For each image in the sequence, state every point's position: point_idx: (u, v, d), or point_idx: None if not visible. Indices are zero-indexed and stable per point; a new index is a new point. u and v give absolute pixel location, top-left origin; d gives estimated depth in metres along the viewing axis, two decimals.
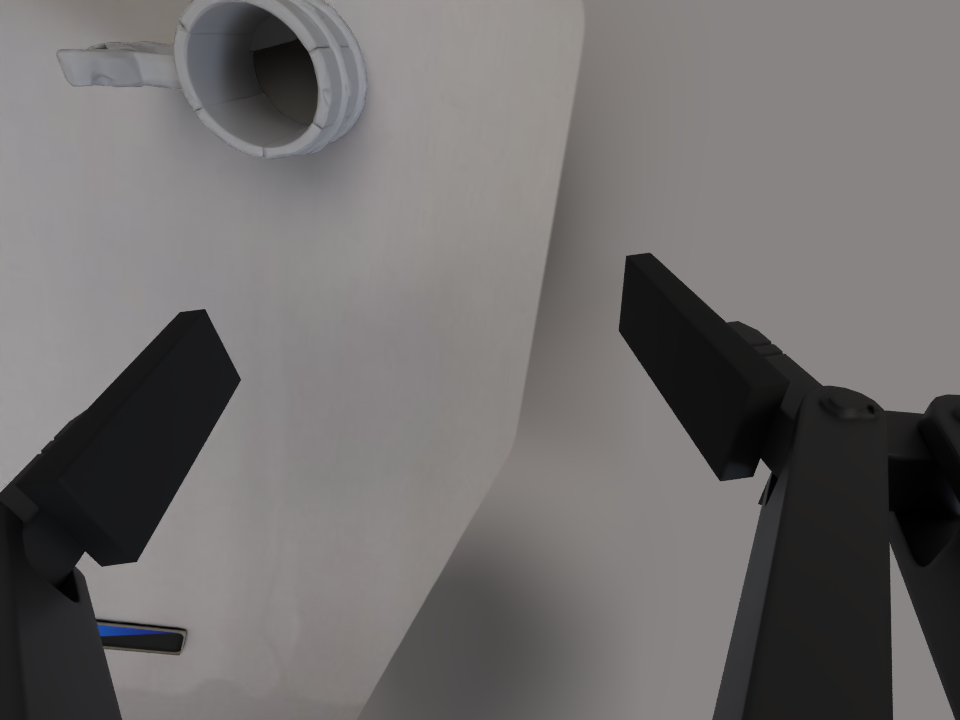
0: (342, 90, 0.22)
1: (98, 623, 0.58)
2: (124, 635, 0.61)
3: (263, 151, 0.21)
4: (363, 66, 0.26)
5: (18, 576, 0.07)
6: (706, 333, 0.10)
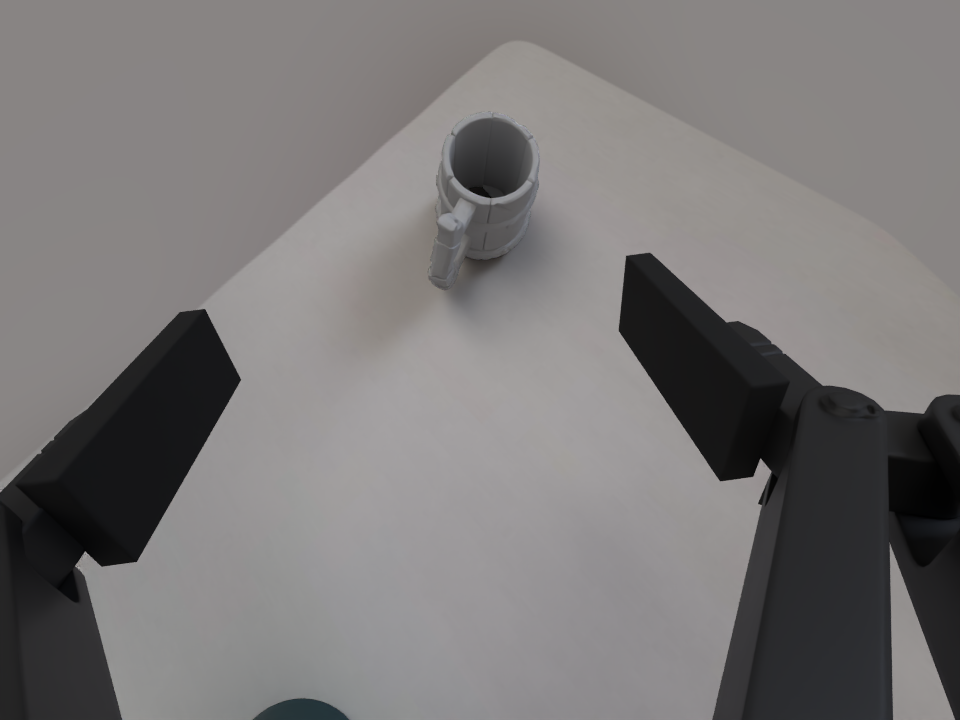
0: None
1: None
2: None
3: (529, 180, 0.28)
4: None
5: (18, 576, 0.07)
6: (706, 333, 0.10)
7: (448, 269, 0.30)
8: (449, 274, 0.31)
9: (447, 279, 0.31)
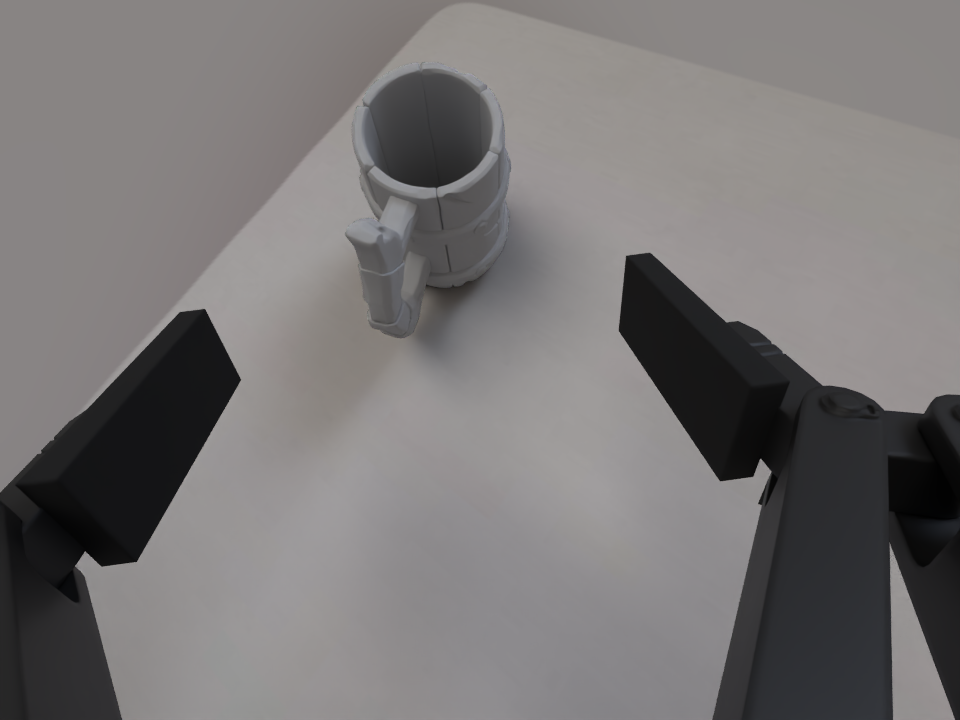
0: None
1: None
2: None
3: (492, 150, 0.18)
4: None
5: (18, 576, 0.07)
6: (706, 333, 0.10)
7: (393, 308, 0.20)
8: (399, 315, 0.21)
9: (397, 323, 0.21)
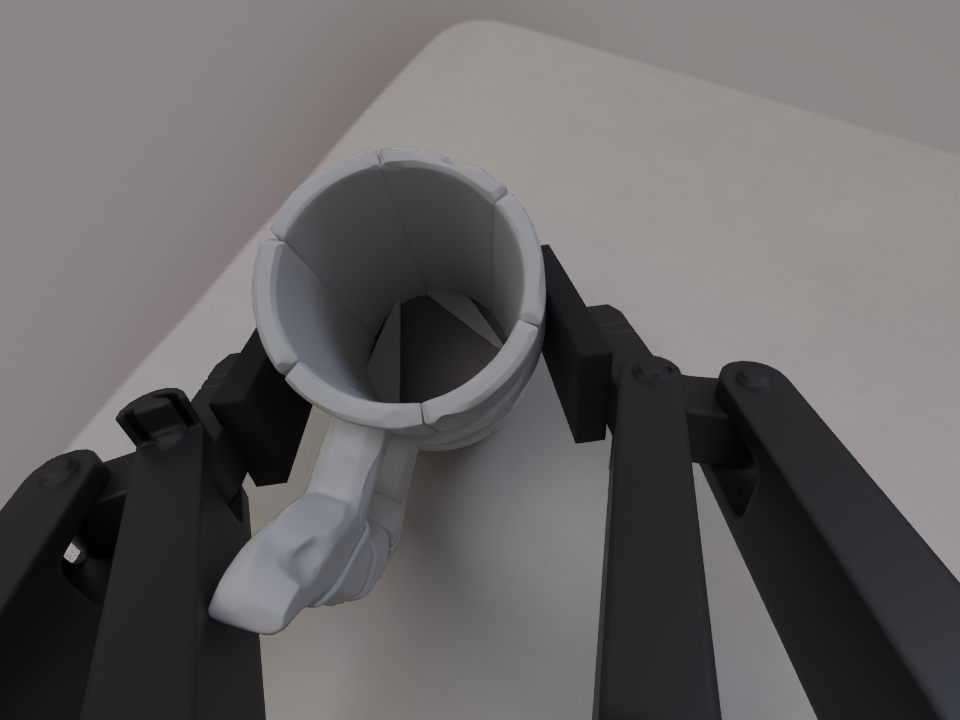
0: None
1: None
2: None
3: (527, 319, 0.09)
4: None
5: (205, 492, 0.08)
6: (563, 313, 0.11)
7: (355, 592, 0.11)
8: (369, 577, 0.12)
9: (366, 591, 0.12)
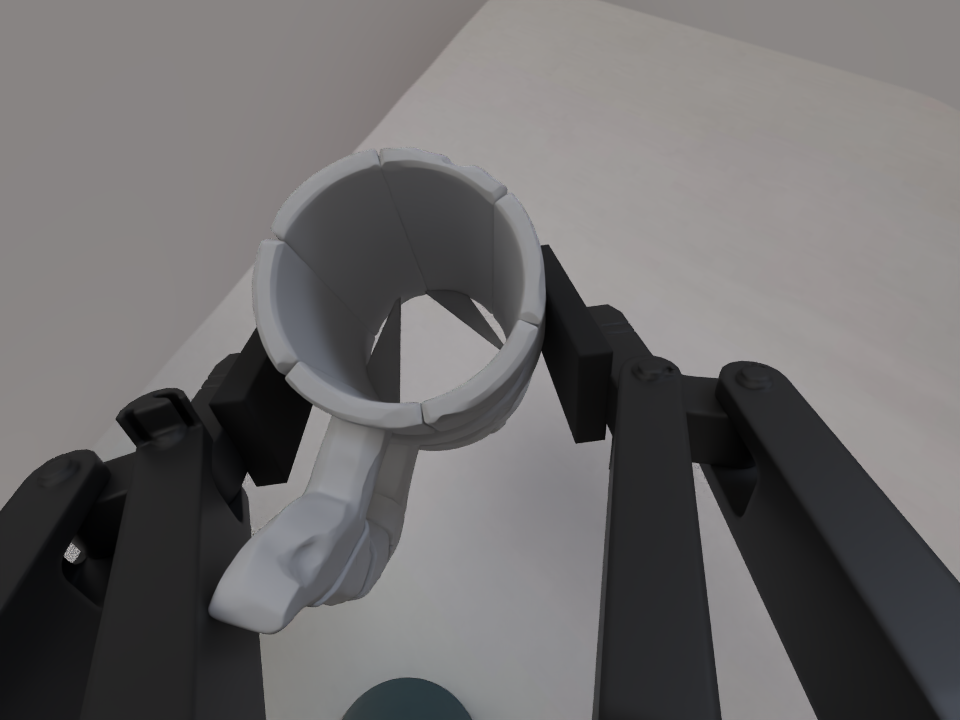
0: None
1: None
2: None
3: (526, 318, 0.09)
4: None
5: (205, 492, 0.08)
6: (563, 313, 0.11)
7: (355, 592, 0.11)
8: (369, 577, 0.12)
9: (367, 590, 0.12)
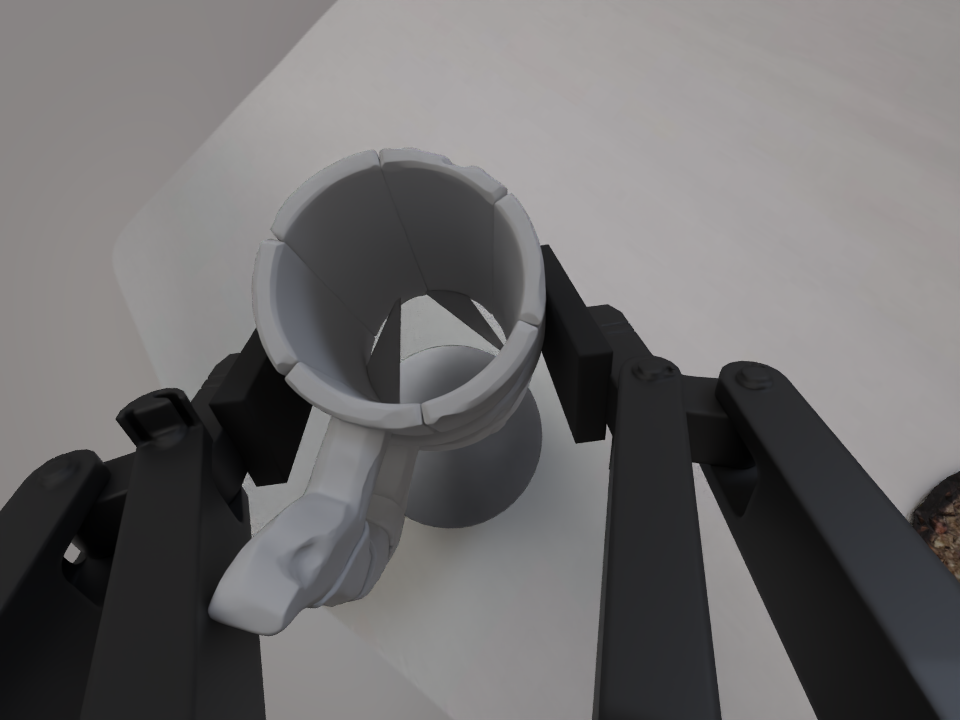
0: None
1: None
2: None
3: (526, 319, 0.09)
4: None
5: (205, 492, 0.08)
6: (563, 313, 0.11)
7: (354, 593, 0.11)
8: (369, 577, 0.12)
9: (366, 591, 0.12)
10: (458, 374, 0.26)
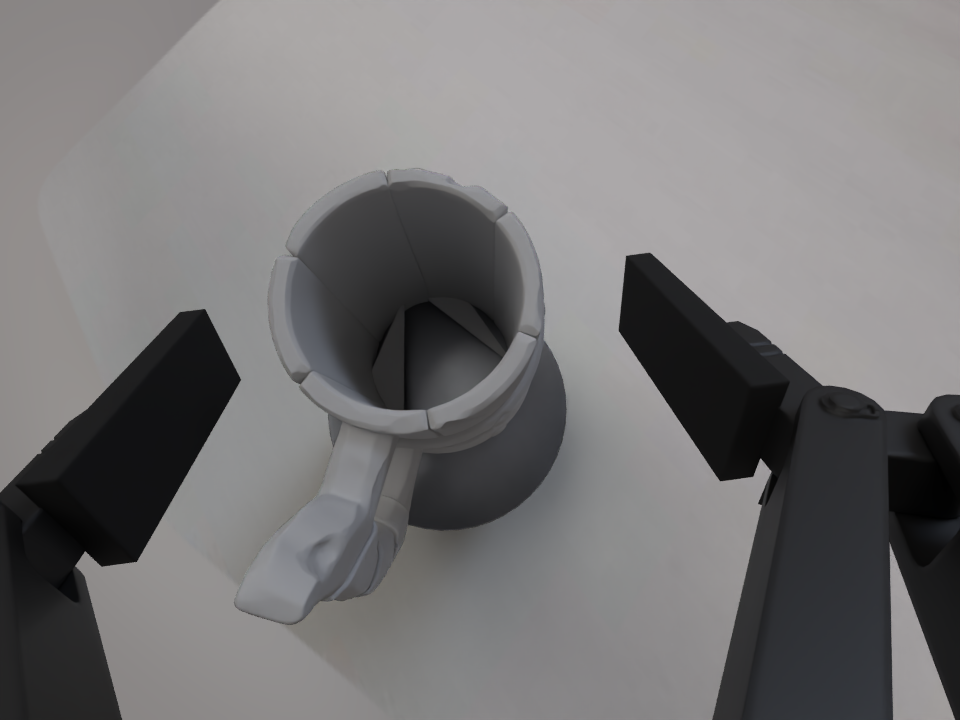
0: None
1: None
2: None
3: (526, 331, 0.10)
4: None
5: (18, 576, 0.07)
6: (706, 333, 0.10)
7: (363, 588, 0.11)
8: (376, 574, 0.12)
9: (374, 587, 0.12)
10: (456, 328, 0.20)
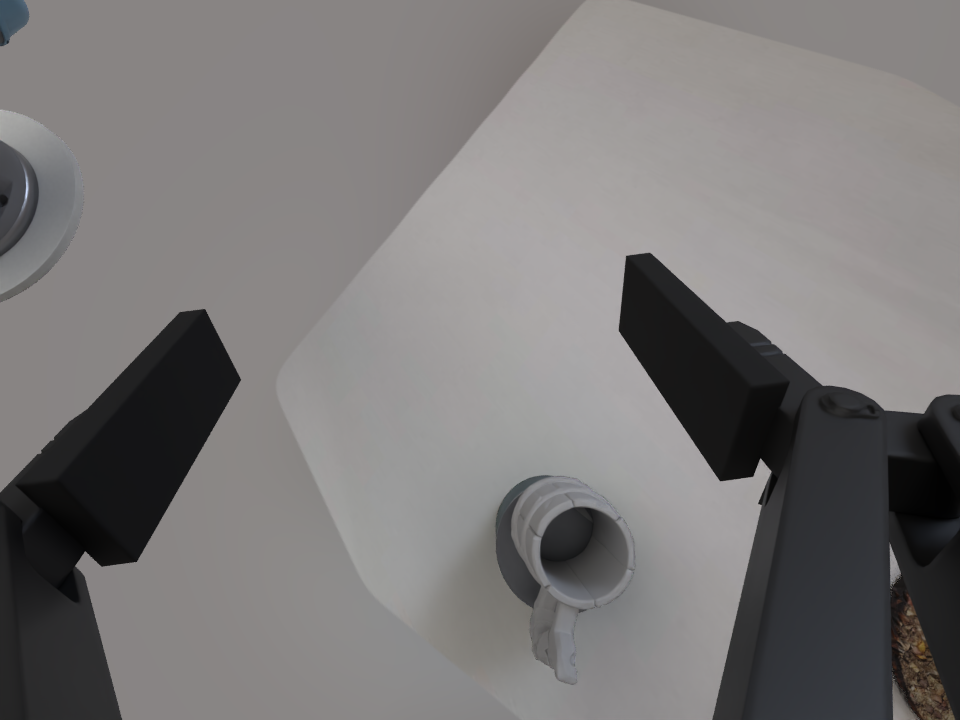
0: (590, 495, 0.30)
1: None
2: None
3: (629, 568, 0.27)
4: (564, 477, 0.35)
5: (18, 576, 0.07)
6: (706, 333, 0.10)
7: None
8: None
9: None
10: None
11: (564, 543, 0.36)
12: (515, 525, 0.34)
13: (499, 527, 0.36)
